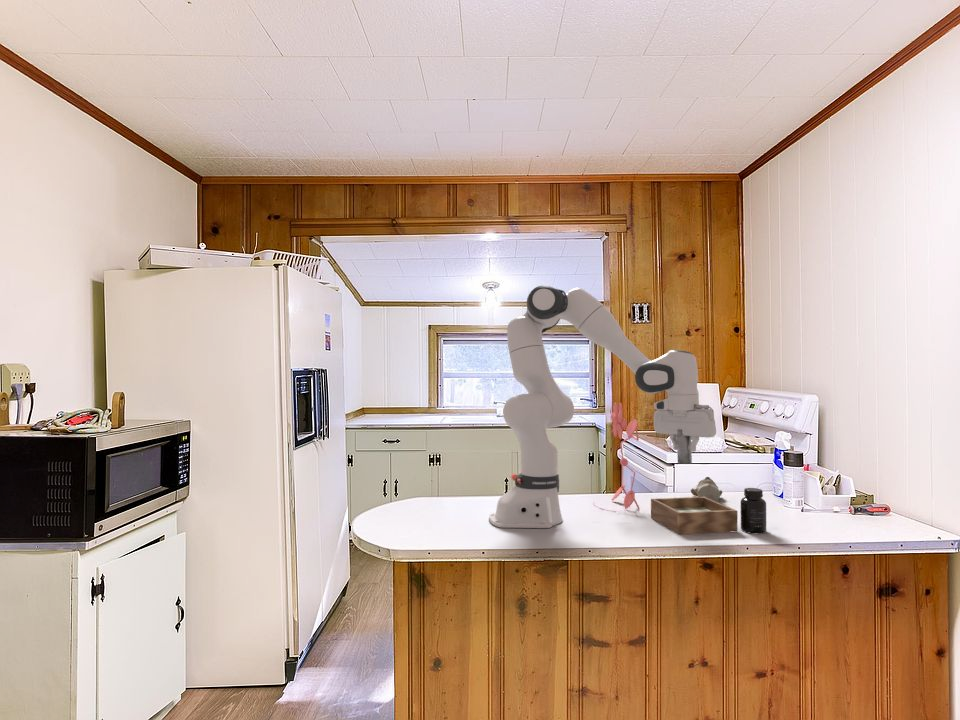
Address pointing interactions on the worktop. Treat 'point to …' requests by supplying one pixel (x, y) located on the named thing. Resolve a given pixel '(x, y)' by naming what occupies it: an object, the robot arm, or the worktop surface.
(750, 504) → the supplement bottle
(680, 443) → the peg
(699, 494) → the ceramic sculpture
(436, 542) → the worktop surface
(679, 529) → the box
